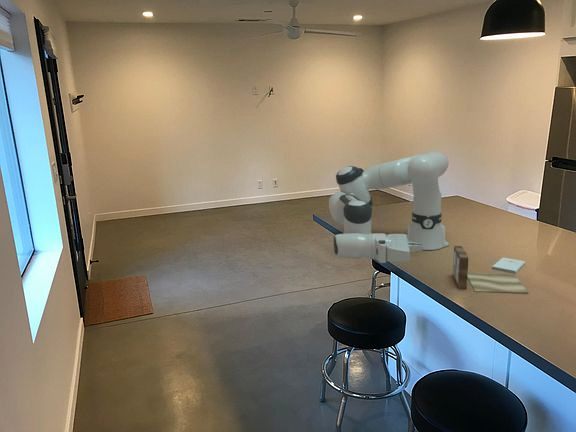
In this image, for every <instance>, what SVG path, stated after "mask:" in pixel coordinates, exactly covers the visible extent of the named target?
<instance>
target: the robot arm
mask: <svg viewBox="0 0 576 432" xmlns="http://www.w3.org/2000/svg"><path fill="white" fill-rule="evenodd" d="M448 168H449V159H448V157H447V156H446V154H444V153H442V152H439V151H429V152H425V153H421V154H417V155H412V156H408V157H405V158H399V159H396V160H391V161H386V162H383V163H379V164H375V165H373V166H369V167H367V168H365V169H363V168H360V167H357V166H354V165H349V166H346V167H343V168H341V169H339V171H337V173H336V175H335V181H336V184H337V185H338V187H339V191H337V192H334V193H333V194H331V196H330V197H329V199H328V209H329V212H330V214H331V217H332V219H333V220H334V222H336V223H337V224H339V225H341V226H344V229H343V231H344V232H343V233H339V234H338V233H337V234H335V235H334V237H333V252H334V254H335V256H336V257H340V258H344V259H355V260H357V259H364V258H365V259H370V260H376V261H378V262H379V263H380V264H386V263H387V262H389V263H404V262H409V261H410V260H411V253H415V252H422V251H431V250H432V251H434V250H439V249H443V248H444V247H448V246H449V245H450V243H449V242H448V241H447V240H446V238H445V237H446V229H445V226H444V224H443V223H442V220H443V219H442V218H443V215H442V192H441V191H440V186H439V178H440V177H441V176H443V175H444V174H445V173H446V172H447V170H448ZM410 184H411V186H412V195H413V199H412V200H413V204H412V207H413V208H412V210H413V211H412V212H411V222H410V223H409V225H408V226H406V227H405V230H406V231H405V232H406V233H407V234H405V233H389V234H386V233H381V232H379V233H377V232H376V233H374V232H373V233H372V217H373V216H372V214H373V199H372V196H371V193H370V192H369V191H370V190H384V189H391V188H395V187H401V186H406V185H410Z"/></svg>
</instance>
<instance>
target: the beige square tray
mask: <svg viewBox="0 0 576 432" xmlns="http://www.w3.org/2000/svg"><path fill="white" fill-rule="evenodd" d="M467 280H468V281H469V283H470V285H471V287H472V289H473V291H474V293H475V292H476V293H496V294H497V293H498V294H499V293H500V294H501V293H502V294H525V295H528V294H529V291H528V290H527V289H526V288H525V287H524V285H523V284H522V283H521V281H520V280H519V278H518V277H517V276H516V274H514V273H497V272H496V273H494V272H492V273H491V272H490V273H489V272H488V273H487V272H468V273H467Z"/></svg>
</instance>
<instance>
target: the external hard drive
mask: <svg viewBox="0 0 576 432" xmlns="http://www.w3.org/2000/svg"><path fill="white" fill-rule="evenodd" d="M525 265H526V261H524V260H520V259H514V258H508V257H501V258H499V260H497V261H496V262H495V264H493V265H492V266H491V270H495V271H499V272H504V273H508V274H514V275H516V274H517V273H519V272H520V270H521V269H522V268H523V267H524V266H525Z"/></svg>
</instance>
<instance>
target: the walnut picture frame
mask: <svg viewBox="0 0 576 432" xmlns="http://www.w3.org/2000/svg"><path fill="white" fill-rule="evenodd" d="M469 258H470V257H469V255H468V254H467V252H466V250H465V249H464V247H463V245H454V248H453V263H452V278H453V280H454V281H455V284H456V286H457V289H459V290H467V287H468V277H467V273H469V272H468V270H469V260H470V259H469Z"/></svg>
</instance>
